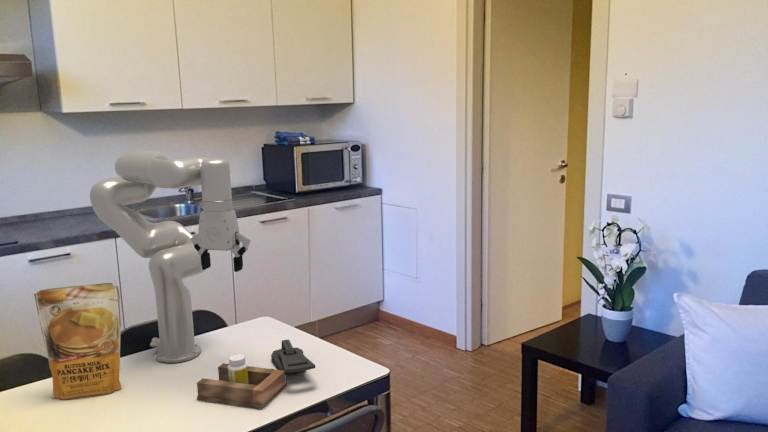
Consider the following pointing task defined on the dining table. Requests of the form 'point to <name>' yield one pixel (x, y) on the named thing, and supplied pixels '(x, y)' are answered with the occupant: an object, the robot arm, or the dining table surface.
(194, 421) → the dining table surface
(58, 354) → the pancake mix bag
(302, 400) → the dining table surface
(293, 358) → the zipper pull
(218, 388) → the open u-shaped wooden frame
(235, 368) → the supplement bottle
